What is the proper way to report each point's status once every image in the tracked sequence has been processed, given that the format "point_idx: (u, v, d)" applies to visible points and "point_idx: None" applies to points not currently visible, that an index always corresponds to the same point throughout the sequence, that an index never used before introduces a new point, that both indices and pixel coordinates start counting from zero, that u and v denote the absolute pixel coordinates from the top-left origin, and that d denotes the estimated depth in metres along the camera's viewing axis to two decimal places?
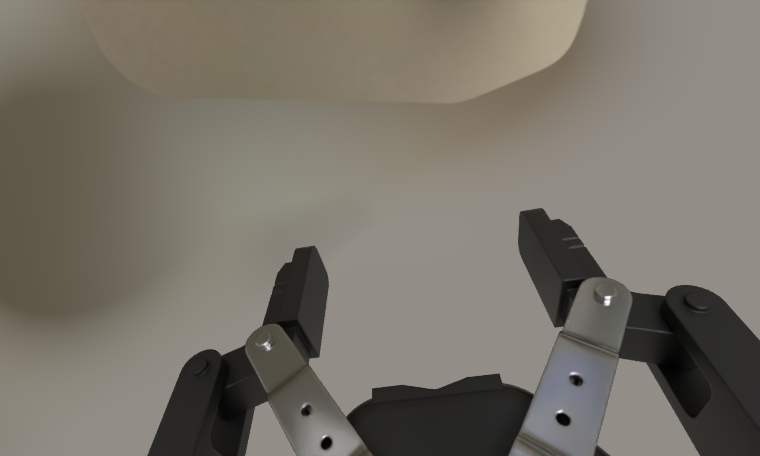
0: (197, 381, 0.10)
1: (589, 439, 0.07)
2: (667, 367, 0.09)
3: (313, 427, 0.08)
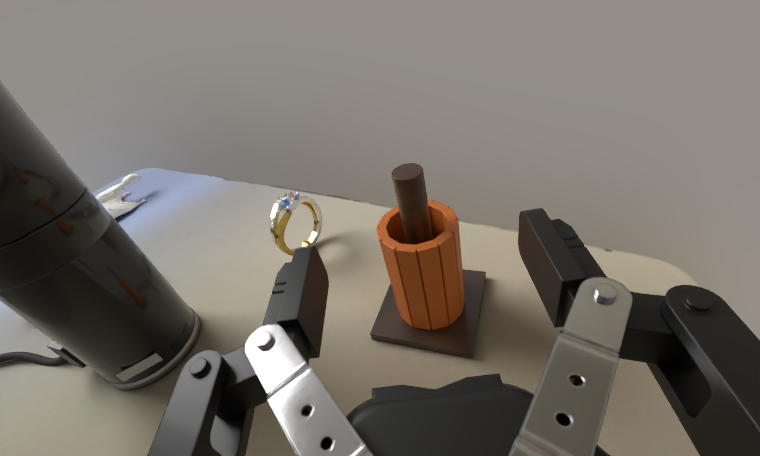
0: (197, 381, 0.10)
1: (589, 439, 0.07)
2: (667, 367, 0.09)
3: (313, 427, 0.08)
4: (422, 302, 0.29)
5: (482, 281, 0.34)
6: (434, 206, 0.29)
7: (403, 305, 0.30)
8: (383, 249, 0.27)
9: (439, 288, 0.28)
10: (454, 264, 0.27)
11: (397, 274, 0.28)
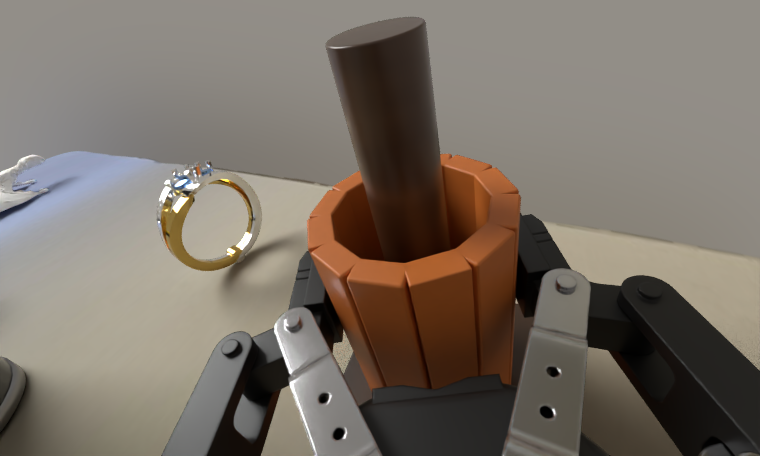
0: (227, 362, 0.10)
1: (573, 428, 0.07)
2: (630, 355, 0.10)
3: (328, 415, 0.08)
4: None
5: None
6: (452, 166, 0.12)
7: None
8: (320, 273, 0.10)
9: (467, 372, 0.11)
10: (508, 312, 0.11)
11: (359, 336, 0.11)
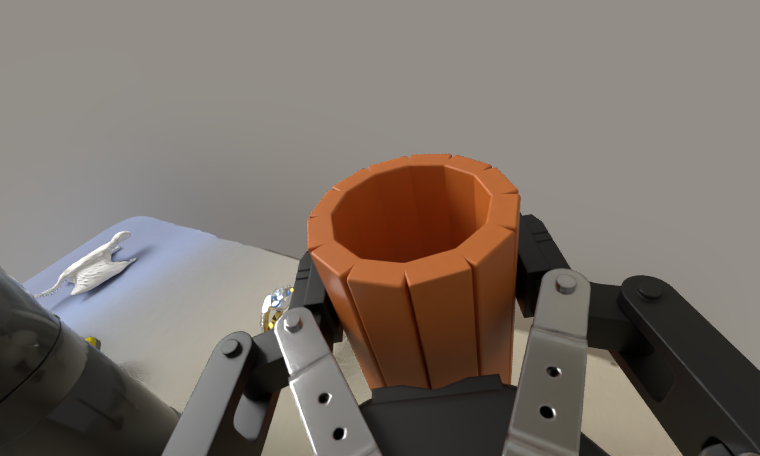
0: (227, 362, 0.10)
1: (573, 428, 0.07)
2: (630, 355, 0.10)
3: (328, 416, 0.08)
4: None
5: None
6: (452, 166, 0.12)
7: None
8: (320, 273, 0.10)
9: (467, 372, 0.11)
10: (508, 312, 0.11)
11: (359, 336, 0.11)
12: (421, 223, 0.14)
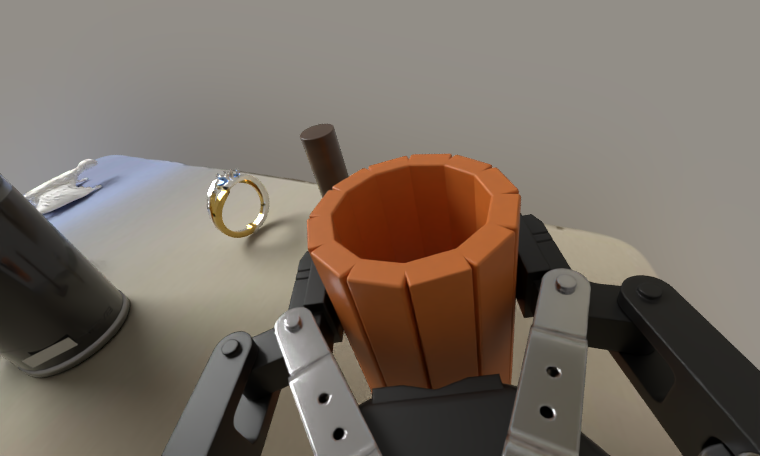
0: (227, 362, 0.10)
1: (573, 428, 0.07)
2: (630, 355, 0.10)
3: (328, 416, 0.08)
4: None
5: None
6: (452, 166, 0.12)
7: None
8: (320, 273, 0.10)
9: (467, 372, 0.11)
10: (508, 312, 0.10)
11: (359, 336, 0.11)
12: (421, 223, 0.14)
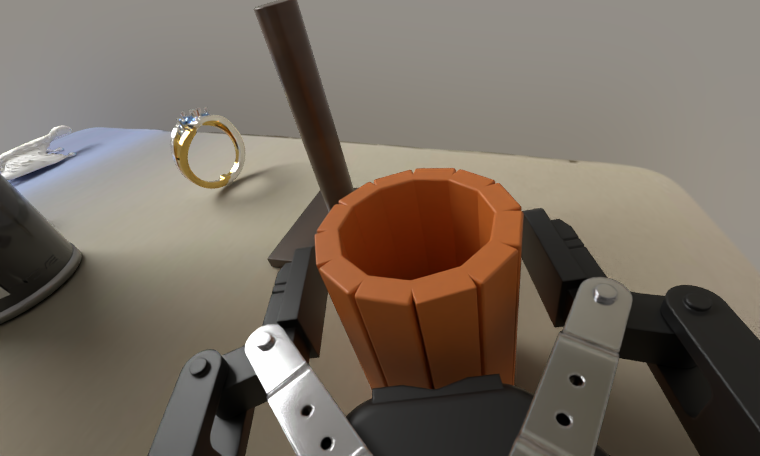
0: (197, 381, 0.10)
1: (589, 439, 0.07)
2: (667, 367, 0.09)
3: (313, 427, 0.08)
4: None
5: None
6: (456, 181, 0.12)
7: None
8: (328, 288, 0.10)
9: None
10: (511, 325, 0.11)
11: (365, 349, 0.11)
12: (425, 235, 0.14)
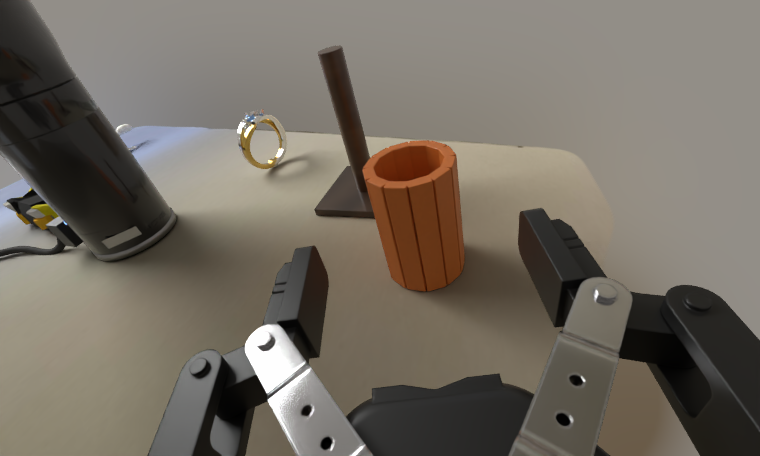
0: (197, 381, 0.10)
1: (589, 439, 0.07)
2: (667, 367, 0.09)
3: (313, 427, 0.08)
4: (415, 255, 0.25)
5: None
6: (429, 146, 0.25)
7: (394, 262, 0.27)
8: (369, 191, 0.23)
9: (434, 237, 0.24)
10: (452, 209, 0.24)
11: (386, 221, 0.24)
12: (415, 176, 0.27)
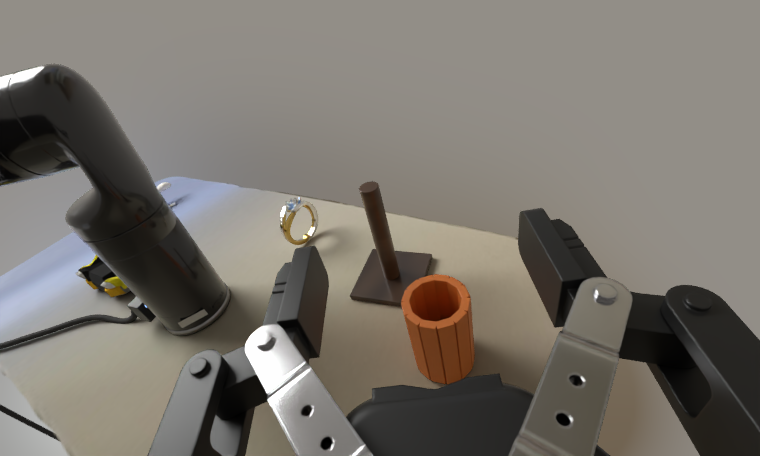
0: (197, 381, 0.10)
1: (589, 439, 0.07)
2: (667, 367, 0.09)
3: (313, 427, 0.08)
4: (439, 364, 0.34)
5: (428, 260, 0.49)
6: (449, 282, 0.34)
7: (422, 363, 0.35)
8: (407, 322, 0.32)
9: (454, 353, 0.33)
10: (467, 334, 0.32)
11: (419, 342, 0.33)
12: (437, 297, 0.36)
